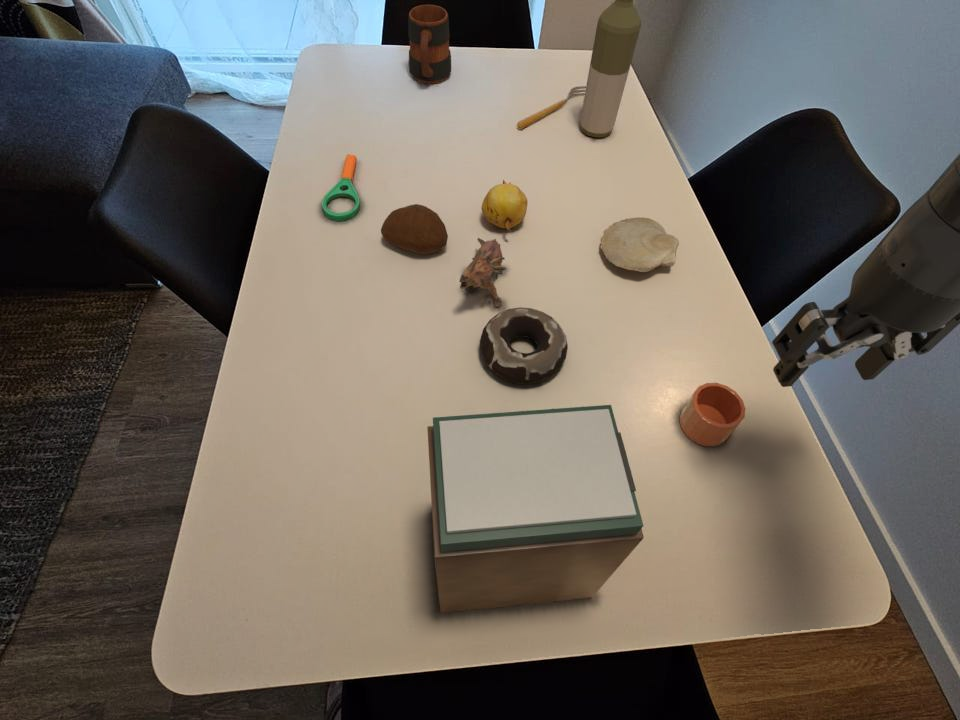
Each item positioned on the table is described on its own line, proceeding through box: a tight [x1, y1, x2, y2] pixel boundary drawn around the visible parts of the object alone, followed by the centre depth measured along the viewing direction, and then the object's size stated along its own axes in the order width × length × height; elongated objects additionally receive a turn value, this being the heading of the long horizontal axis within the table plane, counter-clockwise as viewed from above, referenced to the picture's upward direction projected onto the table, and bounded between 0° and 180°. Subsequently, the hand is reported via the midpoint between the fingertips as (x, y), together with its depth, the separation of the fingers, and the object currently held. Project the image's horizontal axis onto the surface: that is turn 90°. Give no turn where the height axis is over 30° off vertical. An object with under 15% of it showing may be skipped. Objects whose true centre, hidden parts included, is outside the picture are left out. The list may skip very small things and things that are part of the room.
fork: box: [516, 85, 586, 130], centre depth 111 cm, size 2×2×20 cm
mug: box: [407, 4, 452, 85], centre depth 112 cm, size 9×12×12 cm
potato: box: [380, 203, 449, 255], centre depth 86 cm, size 7×10×7 cm
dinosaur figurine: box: [459, 237, 507, 309], centre depth 81 cm, size 14×6×9 cm, turn 173°
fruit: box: [481, 179, 528, 233], centre depth 90 cm, size 7×7×10 cm
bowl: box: [679, 382, 747, 447], centre depth 70 cm, size 6×6×5 cm
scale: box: [432, 404, 644, 552], centre depth 45 cm, size 15×10×3 cm
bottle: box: [579, 0, 642, 138], centre depth 96 cm, size 7×7×30 cm
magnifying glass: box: [321, 154, 361, 222], centre depth 95 cm, size 15×6×2 cm, turn 179°
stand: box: [427, 425, 644, 614], centre depth 54 cm, size 16×11×20 cm
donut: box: [479, 306, 569, 385], centre depth 76 cm, size 12×12×4 cm
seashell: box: [600, 217, 680, 273], centre depth 88 cm, size 12×12×3 cm
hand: (822, 375), depth 56 cm, fingers open, 8 cm apart
